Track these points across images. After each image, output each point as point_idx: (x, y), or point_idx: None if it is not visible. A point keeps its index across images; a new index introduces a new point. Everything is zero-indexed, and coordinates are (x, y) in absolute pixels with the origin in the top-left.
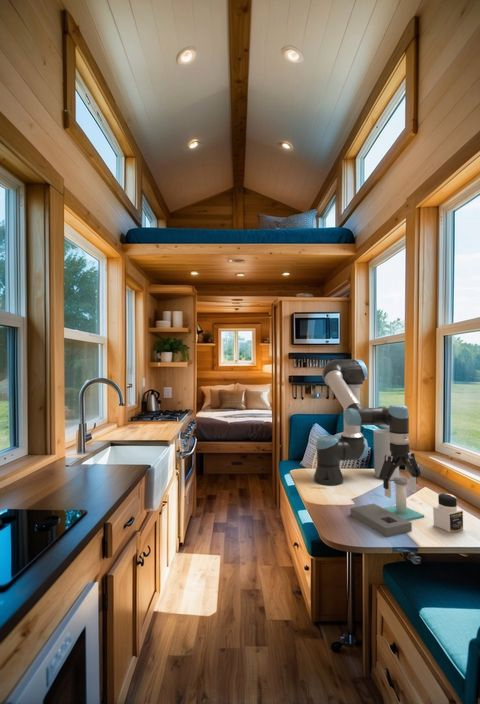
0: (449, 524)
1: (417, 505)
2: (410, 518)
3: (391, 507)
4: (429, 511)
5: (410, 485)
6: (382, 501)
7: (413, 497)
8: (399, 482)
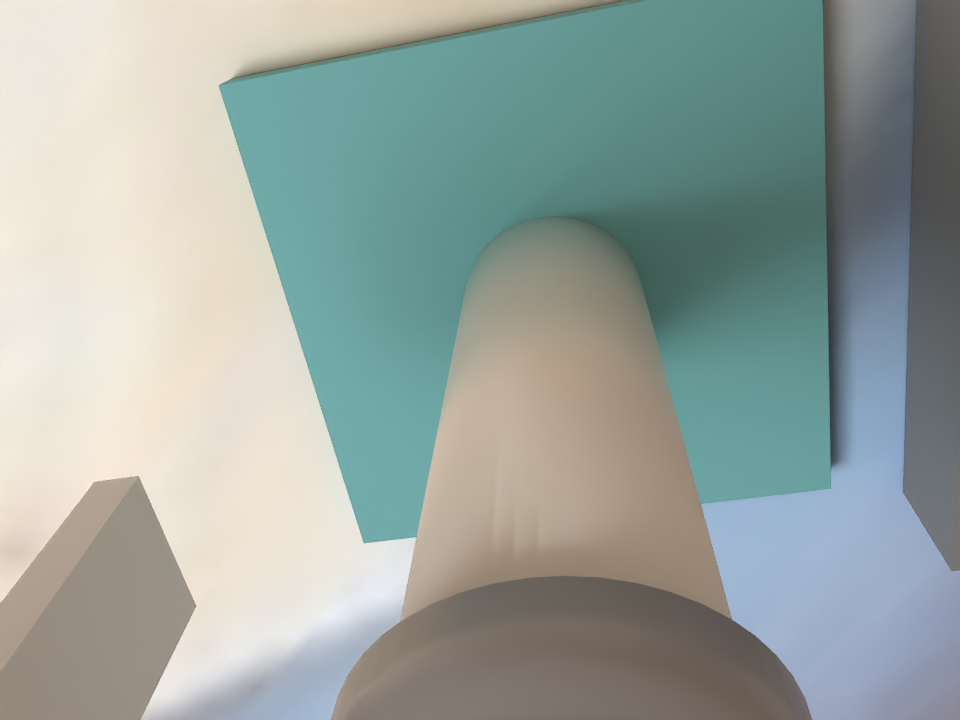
0: None
1: None
2: (571, 13)
3: None
4: (13, 276)
5: (128, 706)
6: None
7: None
8: (775, 708)
